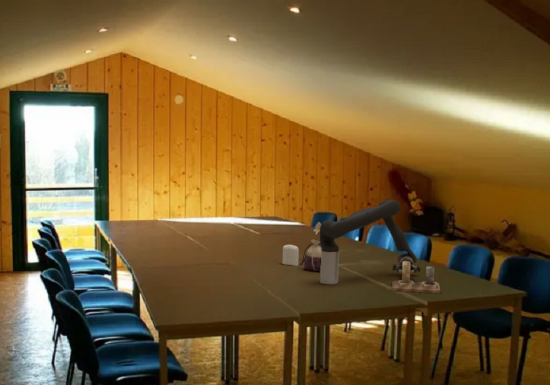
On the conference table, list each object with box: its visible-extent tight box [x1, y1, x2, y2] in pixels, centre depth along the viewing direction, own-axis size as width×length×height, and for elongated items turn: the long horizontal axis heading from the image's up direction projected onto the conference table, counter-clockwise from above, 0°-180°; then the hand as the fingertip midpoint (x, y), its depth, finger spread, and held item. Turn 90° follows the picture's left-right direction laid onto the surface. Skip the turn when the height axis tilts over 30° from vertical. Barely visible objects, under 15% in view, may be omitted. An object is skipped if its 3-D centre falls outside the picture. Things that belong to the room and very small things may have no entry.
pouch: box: [298, 238, 322, 273], centre depth 362 cm, size 25×8×19 cm, turn 52°
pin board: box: [391, 266, 441, 295], centre depth 319 cm, size 24×18×12 cm
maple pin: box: [401, 261, 411, 284], centre depth 320 cm, size 4×4×12 cm
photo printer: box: [282, 244, 300, 267], centre depth 380 cm, size 10×4×12 cm, turn 60°
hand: (406, 270), depth 320 cm, fingers open, 8 cm apart
